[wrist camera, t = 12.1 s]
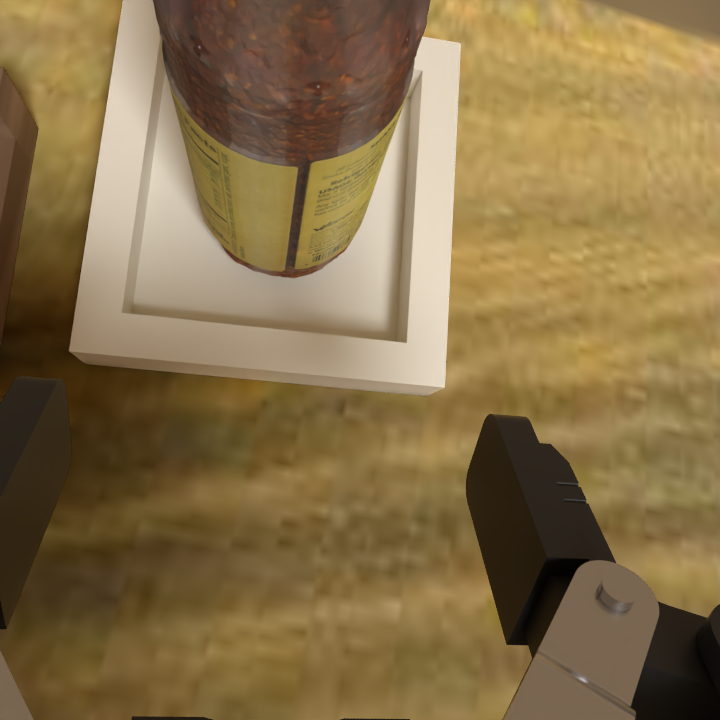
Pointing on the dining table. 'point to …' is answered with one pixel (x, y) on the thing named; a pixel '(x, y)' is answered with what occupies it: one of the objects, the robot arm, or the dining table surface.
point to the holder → (12, 180)
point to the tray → (255, 289)
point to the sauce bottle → (288, 116)
